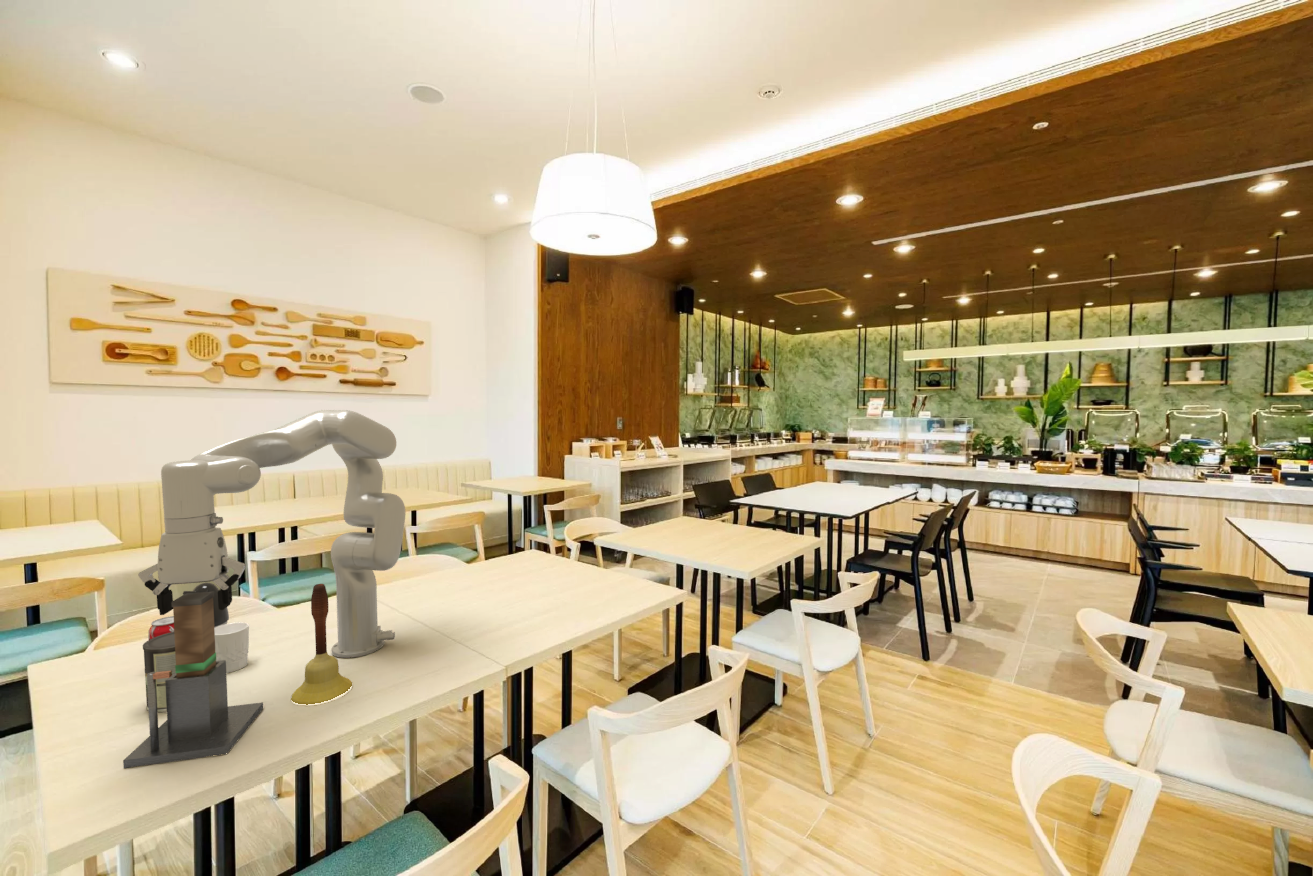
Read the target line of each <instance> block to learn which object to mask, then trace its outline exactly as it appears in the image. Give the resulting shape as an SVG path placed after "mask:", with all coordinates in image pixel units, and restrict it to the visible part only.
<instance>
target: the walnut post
mask: <svg viewBox="0 0 1313 876" xmlns="http://www.w3.org/2000/svg"><path fill="white" fill-rule="evenodd" d="M213 597H214V592H201V593H187V594H184V595H183V594H182V595H181V596H179V597H177V598H176V599H173V601H172V607H173V609H172V612H173V614H172V615H173V616H174V635H175V656H176V665H175V670H176V677H177V678H178V677H187V676H197V675H205V674H207V673H208V672H209V671H210V670H211V669H212V668H213V667H215V666H216V652H215V631H214V608H213Z"/></svg>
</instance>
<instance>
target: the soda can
mask: <svg viewBox="0 0 1313 876" xmlns="http://www.w3.org/2000/svg"><path fill="white" fill-rule="evenodd" d="M171 632H174V615H172V616H165V617H161V618H158V619H155V620H153V621H152V622H151V623H150V628H149V629H148V637H147V638H148V640H150V639H152V638H154V637H157V636H160V635H163V634H167V633H171ZM148 640H147V641H148Z"/></svg>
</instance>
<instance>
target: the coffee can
mask: <svg viewBox="0 0 1313 876" xmlns="http://www.w3.org/2000/svg"><path fill="white" fill-rule="evenodd" d="M142 650H143V658H144V659H143V660H144V676H145V677H144V678H145V679H144V681H145V697H146V698H145V699H146V707H145V709H146V710H147V711H148V712H149V708H148V688H147V674H148V673H150V672H162V671H172V675H173V674H174V673H175V672H176V670H175V665H176V656H175V635H174V632H171V633H167V634H163V635H160V636H157V637H154V638H152V639H150V640H147V641H145V642H144V643H143V644H142ZM167 679H168V678H162V679H156V691H157V711H158V713H167V705H166V685H165V680H167Z"/></svg>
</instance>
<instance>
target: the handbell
mask: <svg viewBox="0 0 1313 876" xmlns="http://www.w3.org/2000/svg"><path fill="white" fill-rule="evenodd" d="M310 598H311V599H310V608H311V609H310V610H311V616H312V618H313V621H314V634H315V655H314V657H313V658H312V659H311V660H310V661H308V662H307V664H306V665H305V667H304V681H303V683H302V684H301V685H300V686H299V687H298V688H297V689H295V691H293V693H292V695H291V696H292V698H291V697H290V701H291V700H292V701H293V702H295V703H298V704H306V705H308V704H315V703H321V702H324V701H328V700H331V699H333V698H335V697H337V696H339V695H341V694H343V693H345V692H346V691H348V689H350V687H351V686H352V683H353V681H352V680H350V679H349V678H348V677H346V676H343V675H342V674H341V673H340V672H339V669H340V667H339V660H338V659H337V657H336V656H334V655H330V654H329V653H328V650H327V649H328V647H327V646H328V645H327V617H328V614H329V595H328V591H327V588H326V585H325V584H324V583H317V584H314V585H313V587H312V594H311V597H310Z"/></svg>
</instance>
